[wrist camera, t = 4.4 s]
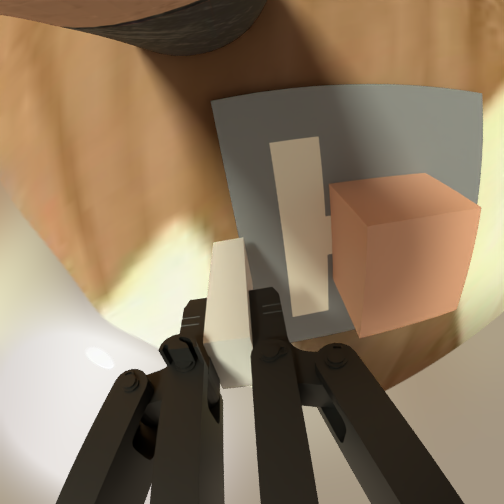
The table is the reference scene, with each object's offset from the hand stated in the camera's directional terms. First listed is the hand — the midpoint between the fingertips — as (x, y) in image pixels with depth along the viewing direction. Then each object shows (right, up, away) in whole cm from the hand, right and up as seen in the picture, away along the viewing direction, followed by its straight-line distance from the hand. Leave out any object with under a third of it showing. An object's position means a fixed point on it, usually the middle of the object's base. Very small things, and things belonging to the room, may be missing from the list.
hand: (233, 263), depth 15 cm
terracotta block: (+8, +2, +1) cm, 9 cm away
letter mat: (+8, +2, +1) cm, 9 cm away
